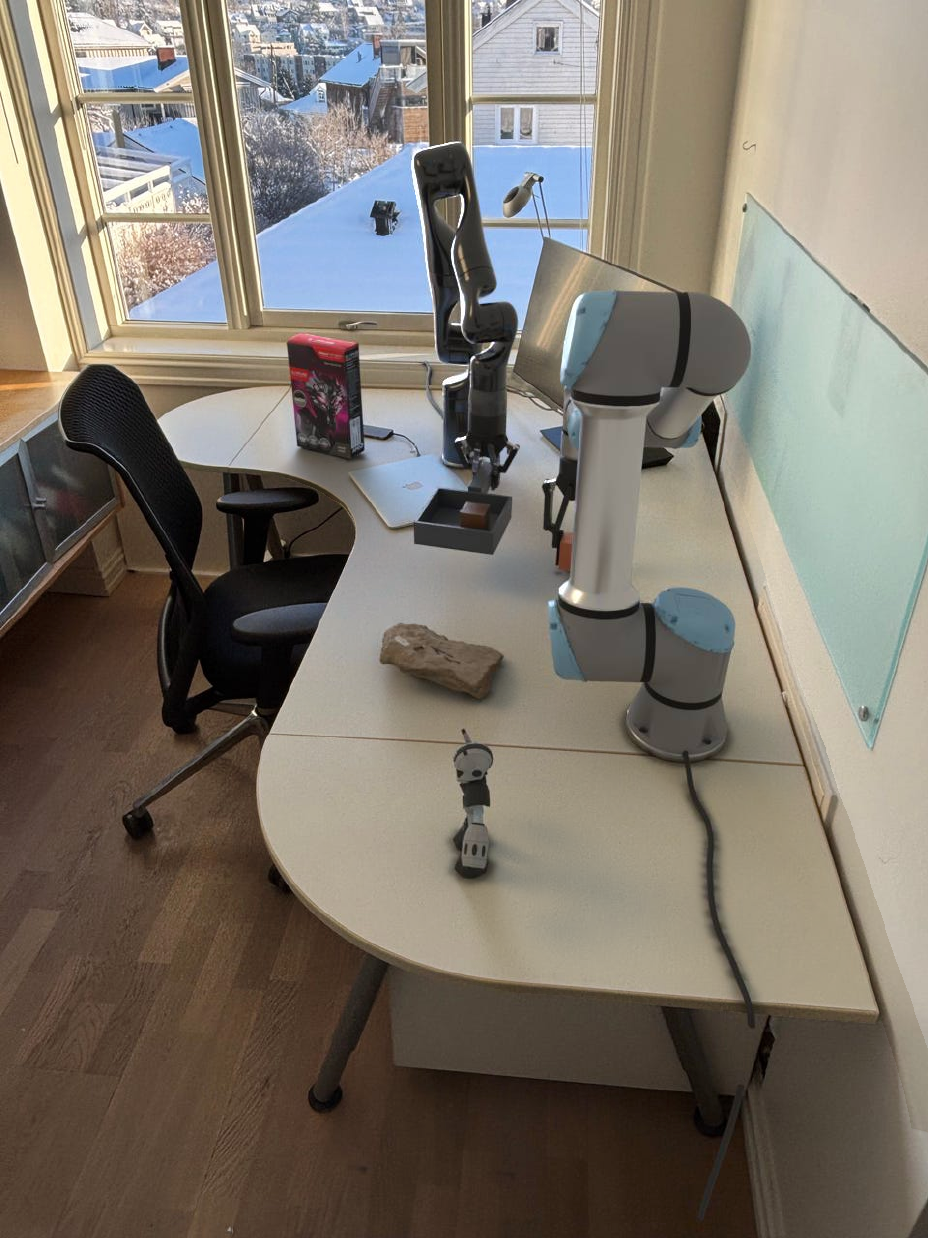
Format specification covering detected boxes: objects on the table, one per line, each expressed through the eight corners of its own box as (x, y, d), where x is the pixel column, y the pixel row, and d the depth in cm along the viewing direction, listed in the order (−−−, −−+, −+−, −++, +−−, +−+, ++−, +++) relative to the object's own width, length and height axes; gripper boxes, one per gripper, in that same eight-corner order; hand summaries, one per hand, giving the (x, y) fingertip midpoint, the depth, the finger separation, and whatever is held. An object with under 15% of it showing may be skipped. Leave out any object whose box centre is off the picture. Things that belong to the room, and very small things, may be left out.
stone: (355, 671, 149) (362, 639, 147) (387, 639, 163) (394, 609, 160) (477, 715, 146) (486, 682, 144) (499, 678, 159) (507, 648, 157)
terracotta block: (580, 572, 181) (583, 545, 177) (558, 569, 182) (560, 542, 178) (584, 561, 184) (586, 534, 181) (562, 558, 185) (564, 531, 182)
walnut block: (483, 544, 171) (484, 515, 167) (460, 540, 172) (460, 512, 168) (489, 532, 174) (490, 504, 171) (466, 529, 175) (466, 501, 172)
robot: (495, 914, 114) (500, 797, 103) (456, 915, 114) (456, 798, 103) (484, 799, 130) (487, 688, 119) (450, 801, 130) (450, 689, 119)
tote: (493, 555, 169) (493, 528, 166) (413, 543, 172) (413, 517, 169) (524, 491, 190) (525, 466, 187) (453, 482, 194) (453, 457, 190)
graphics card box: (294, 447, 232) (283, 339, 217) (310, 437, 237) (301, 331, 222) (351, 461, 225) (344, 350, 210) (367, 450, 230) (361, 342, 215)
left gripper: (526, 404, 181) (522, 484, 191) (458, 397, 184) (457, 476, 194) (518, 418, 175) (514, 500, 185) (447, 410, 178) (448, 491, 188)
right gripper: (630, 451, 171) (618, 561, 184) (538, 441, 175) (532, 549, 188) (625, 467, 165) (613, 579, 178) (529, 456, 169) (524, 566, 182)
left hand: (485, 487), depth 189 cm, fingers closed on tote, 2 cm apart
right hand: (571, 563), depth 183 cm, fingers closed on terracotta block, 4 cm apart
